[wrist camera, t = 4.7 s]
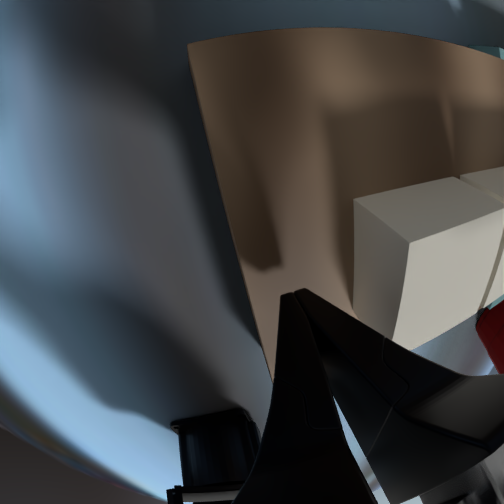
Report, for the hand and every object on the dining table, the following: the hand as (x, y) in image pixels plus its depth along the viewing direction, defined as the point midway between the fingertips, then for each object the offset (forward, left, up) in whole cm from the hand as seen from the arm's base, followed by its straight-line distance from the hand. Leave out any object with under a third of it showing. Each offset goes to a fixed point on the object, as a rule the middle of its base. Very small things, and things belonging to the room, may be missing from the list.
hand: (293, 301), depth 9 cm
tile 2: (+5, 0, -1) cm, 5 cm away
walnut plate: (+7, 0, -5) cm, 8 cm away
